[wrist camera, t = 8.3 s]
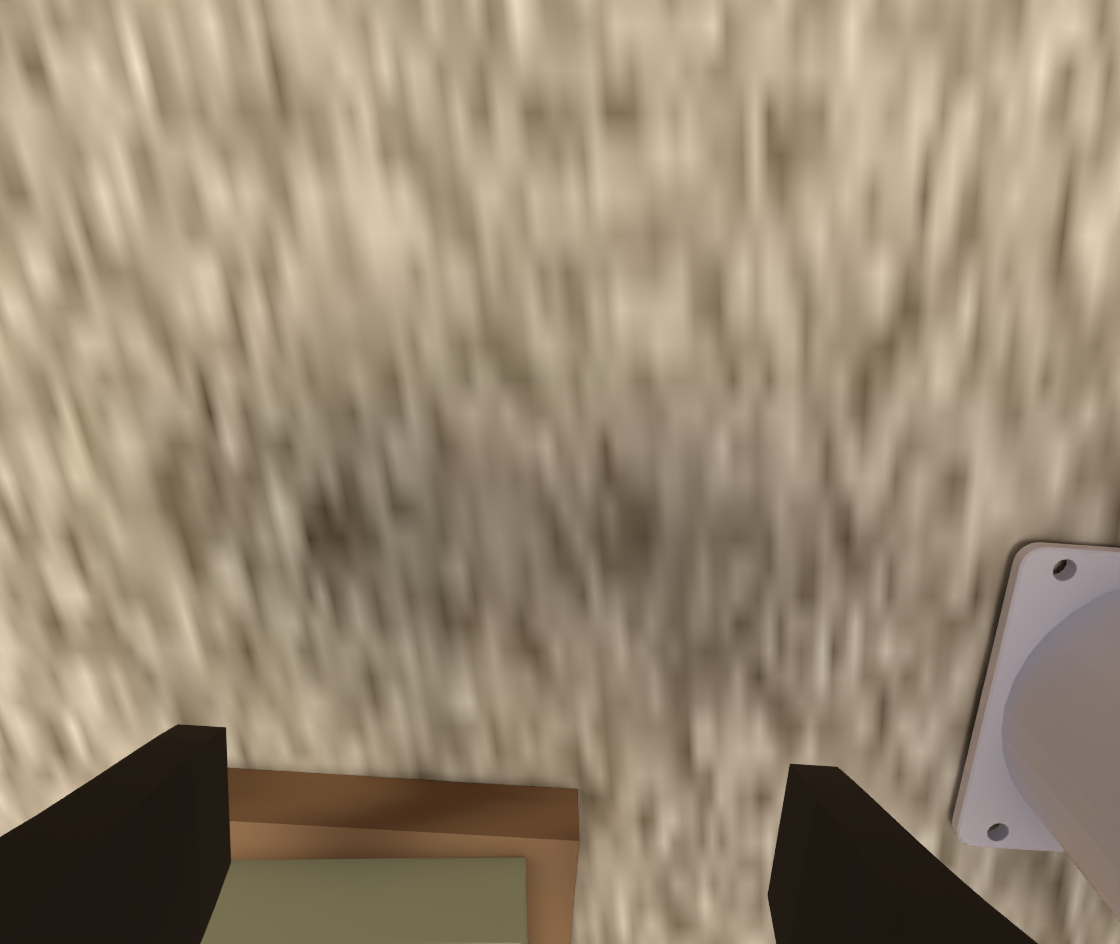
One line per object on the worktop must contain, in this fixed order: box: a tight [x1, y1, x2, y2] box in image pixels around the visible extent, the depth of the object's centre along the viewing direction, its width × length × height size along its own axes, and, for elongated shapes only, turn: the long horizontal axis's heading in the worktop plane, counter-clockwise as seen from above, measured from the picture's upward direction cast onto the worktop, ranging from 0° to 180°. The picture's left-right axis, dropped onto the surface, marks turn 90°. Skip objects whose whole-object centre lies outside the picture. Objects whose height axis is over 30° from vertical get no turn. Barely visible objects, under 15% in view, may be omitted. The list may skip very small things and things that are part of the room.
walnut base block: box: [228, 768, 579, 944], centre depth 23 cm, size 9×9×2 cm
